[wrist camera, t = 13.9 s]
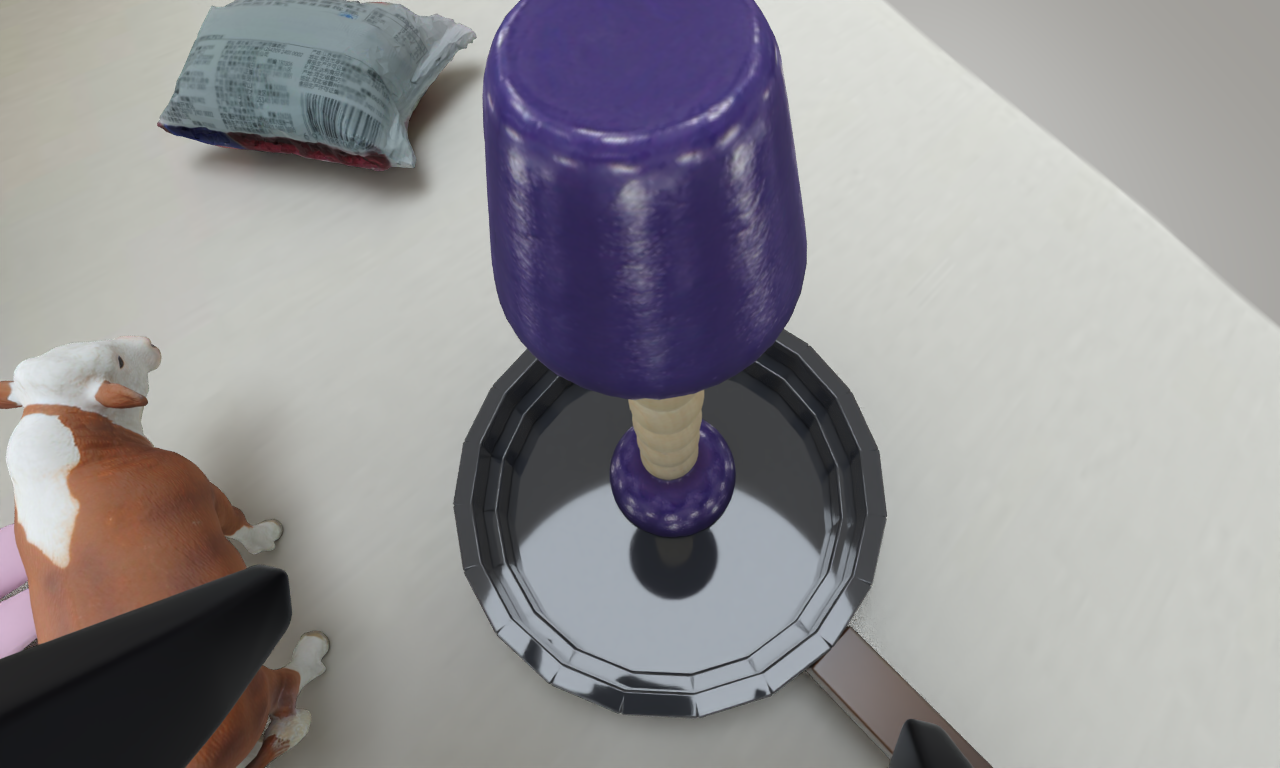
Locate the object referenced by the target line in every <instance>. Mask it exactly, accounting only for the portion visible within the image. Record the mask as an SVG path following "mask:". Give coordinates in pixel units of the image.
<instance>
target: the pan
mask: <svg viewBox="0 0 1280 768" xmlns="http://www.w3.org/2000/svg"><path fill="white" fill-rule="evenodd" d="M701 410H702V419H703V420H705V421H706V422H708V423H709V424H711V425H712V426H713V427H714V428H716V429H717V430H718V431H719V433H720V434H721V435H722V436H723V438H724V439H725V441H726V442H727V444H728V446H729V448H730V450H731V453H732V455H733V459H734V463H735V470H736V481H735V487H734V492H733V495H732V499H731V500H730V502H729V504H728V505H727V507H726V509H725V511H724V512H723V513H722V515H721V516H720V517H719V518H718V519H717V520H716V521H715V522H713V524H712V525H710V526H708V527H707V528H706V529H704V530H701V531H699V532H698V533H695V534H692V535H688V536H679V537H662V536H658V535H654V534H651V533H649V532H646V531H644V530H642V529H641V528H640V527H638V526H637V525H635V524H634V523H632V522H631V521H630V520H629V519H628V518H627V517H626V516H625V515H624V514H623V513H622V511H621V510H620V508H619V507H618V505H617V503H616V501H615V499H614V496H613V493H612V489H611V485H610V464H611V458H612V456H613V453H614V450H615V448H616V446H617V444H618V442H619V441H620V439H621V438H622V437H623V435H624V434H625V433H626V432H627V431H628V429H629V428H631V427H632V426H633V422H632V412H631V410H630V407H629V401H628V399H624V398H619V397H613V396H607V395H604V394H601V393H598V392H595V391H592V390H588V389H584V388H582V387H580V386H579V385H577V384H575V383H573V382H571V381H569V380H566V379H565V378H563V377H561V376H558V375H556V374H555V373H554V372H553V371H551V370H550V369H549V368H547V367H546V366H545V365H544V364H543V363H541V362H540V361H539V360H538V359H537V358H536V357H535V356H534V355H533V354H532V353H531V352H530V351H529V350H528V349H527V350H526V351H525V352H524V353H523V354H522V355H521V356H520V357H519V358H518V359H517V360H516V361H515V362H514V363H513V364H512V365H511V366H510V368H509V369H508V370H507V371H506V372H505V373H504V374H503V375H502V376H501V377H500V378H499V379H498V380H497V381H496V382H495V383H494V385H493V387H492V388H491V389H490V391H489V393H488V395H487V397H486V399H485V401H484V403H483V405H482V407H481V409H480V411H479V413H478V415H477V417H476V419H475V421H474V423H473V425H472V427H471V429H470V431H469V433H468V435H467V436H466V438H465V442H464V443H463V448H462V454H461V460H460V466H459V472H458V478H457V484H456V490H455V496H454V502H453V504H454V505H455V506H454V514H455V520H456V527H457V533H458V540H459V546H460V553H461V559H462V566H463V570H464V571H465V572H464V574H465V576H466V578H467V580H468V582H469V584H470V586H471V587H472V589H473V591H474V593H475V595H476V597H477V599H478V601H479V603H480V605H481V607H482V609H483V610H484V612H485V614H486V616H487V618H488V620H489V622H490V624H491V626H492V628H493V630H494V632H495V633H497V636H498V637H499V638H500V639H501V640H502V641H504V642H505V643H506V644H507V645H508V646H509V647H510V648H511V649H512V650H513V651H514V652H515V653H516V654H517V655H519V656H520V657H521V658H522V659H523V660H524V661H525V662H526V663H527V664H528V665H529V666H530V667H531V668H533V669H534V670H535V671H536V672H537V673H538V674H539V675H540V676H541V677H542V678H543V679H544V680H545V681H546V682H548V683H549V684H551V685H552V686H554V687H557V688H559V689H561V690H564V691H566V692H568V693H571V694H573V695H575V696H578V697H580V698H582V699H585V700H587V701H589V702H592V703H594V704H597V705H599V706H601V707H604V708H606V709H608V710H611V711H613V712H615V713H618V714H620V713H621V714H623V715H635V716H655V717H674V718H694V719H696V718H702V717H706V716H709V715H712V714H715V713H718V712H722V711H725V710H728V709H731V708H734V707H737V706H741V705H744V704H747V703H750V702H753V701H757V700H760V699H763V698H766V697H769V696H771V695H772V694H775V693H776V692H778V691H779V690H780V689H782V688H783V687H784V686H785V685H787V684H788V683H789V682H791V681H792V680H793V679H794V678H796V677H797V676H798V675H800V674H801V673H802V672H804V671H805V670H806V669H807V668H809V667H810V666H811V665H813V664H814V663H815V662H816V661H818V660H819V659H820V658H822V657H823V656H824V655H825V654H827V653H828V652H829V651H831V649H832V648H833V647H834V646H835V645H836V643H837V641H838V640H839V638H840V637H841V635H842V633H843V632H844V630H845V629H846V627H847V625H848V624H849V622H850V621H851V619H852V617H853V616H854V614H855V613H856V611H857V609H858V608H859V606H860V605H861V603H862V602H863V600H864V598H865V597H866V595H867V594H868V592H869V590H870V589H871V585H872V584H873V579H874V575H875V570H876V566H877V561H878V556H879V552H880V547H881V543H882V538H883V533H884V529H885V524H886V520H887V519H886V517H887V511H886V503H885V494H884V486H883V478H882V469H881V461H880V453H879V450H878V447H877V445H876V443H875V441H874V439H873V436H872V434H871V432H870V430H869V428H868V426H867V423H866V421H865V419H864V417H863V415H862V413H861V411H860V408H859V406H858V404H857V402H856V400H855V398H854V396H853V393H852V392H850V389H849V388H848V387H847V386H846V385H845V383H844V382H843V381H842V380H841V379H840V378H839V377H838V376H837V375H836V374H835V372H834V371H833V370H832V369H831V368H830V367H829V366H828V365H827V364H826V363H825V361H824V360H823V359H822V358H821V357H820V356H819V355H818V354H817V353H816V351H815V350H814V349H813V348H812V347H811V346H808V344H807V343H806V342H804V341H803V340H801V339H799V338H798V337H796V336H794V335H793V334H791V333H789V332H788V331H786V330H784V329H783V330H782V332H781V333H780V335H779V336H778V338H777V339H776V341H775V342H774V344H773V345H772V346H771V347H769V348H768V349H767V350H766V351H765V352H764V353H763V354H762V355H761V356H760V357H759V358H758V359H757V360H756V361H755V362H754V363H752V364H751V365H750V366H748V367H747V368H745V369H744V370H743V371H741V372H740V373H738V374H737V375H735V376H733V377H731V378H729V379H727V380H725V381H724V382H722V383H720V384H718V385H716V386H712V387H709V388H707V389H704V401H703V405H702V408H701ZM831 647H832V648H831Z"/></svg>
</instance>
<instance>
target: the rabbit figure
mask: <svg viewBox="0 0 1280 768" xmlns="http://www.w3.org/2000/svg"><path fill="white" fill-rule="evenodd" d="M27 581H28V578H27V575H26V572H25V568H24V566H23V563H22V560H21V557H20V554H19V551H18V548H17V545H16V540H15V534H14V524H11V525H8V526H5V527H3V528H1V529H0V599H1V598H3V597H4V596H6V595H7V594H9V593H10V592H12V591H13V590H15V589H17V588H18V587H20V586H21V585H23V584H24V583H25V582H27ZM36 638H37V635H36V629H35V624H34V619H33V614H32V609H31V603H30V595H29V588H28V589H26V590H24V591H22V592H20V593H19V594H17V595H15V596H13V597H11V598H9V599H7V600H5V601H2V602H0V659H1V658H4V657H7V656H9V655H12V654H15V653H18V652H20V651H22V650H23V649H24V648H25V647H26V646H28V645H29V644H30V643H31V642H32V641H34V640H35V639H36Z"/></svg>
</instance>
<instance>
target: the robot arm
mask: <svg viewBox="0 0 1280 768" xmlns="http://www.w3.org/2000/svg"><path fill="white" fill-rule="evenodd" d="M291 616H292V607H291V598H290V589H289V580H288V575H287V574H286V572H285V571H284V570H282V569H279V568H275V567H270V566H266V565H255V566H252V567H249V568H246V569H244V570H241V571H238V572H235V573H233V574H230V575H227V576H224V577H222V578H219V579H216V580H214V581H211V582H208V583H205V584H203V585H200V586H197V587H195V588H192V589H189V590H186V591H184V592H181V593H178V594H175V595H173V596H170V597H167V598H165V599H162V600H159V601H156V602H154V603H151V604H148V605H146V606H143V607H140V608H137V609H135V610H132V611H129V612H126V613H124V614H121V615H118V616H116V617H113V618H110V619H107V620H105V621H102V622H99V623H97V624H94V625H91V626H88V627H86V628H83V629H80V630H77V631H75V632H72V633H69V634H67V635H64V636H61V637H58V638H56V639H53V640H50V641H48V642H45V643H42V644H39V645H37V646H34V647H31V648H28V649H26V650H23V651H20V652H18V653H15V654H12V655H9V656H7V657H4V658H1V659H0V768H186V766H187V765H188V764H189V763H190V762H191V760H192V759H193V758H194V757H195V756H196V754H197V753H198V752H199V751H200V749H201V748H202V747H203V746H204V745H205V743H206V742H207V741H208V740H209V738H210V737H211V736H212V735H213V733H214V732H215V731H216V730H217V728H218V727H219V726H220V725H221V723H222V722H223V720H224V719H225V718H226V716H227V715H228V714H229V712H230V711H231V710H232V708H233V707H234V705H235V704H236V702H237V701H238V700H239V698H240V697H241V695H242V694H243V692H244V691H245V689H246V688H247V687H248V685H249V684H250V682H251V681H252V679H253V678H254V676H255V675H256V674H257V672H258V671H259V669H260V668H261V666H262V665H263V663H264V662H265V660H266V659H267V658H268V656H269V655H270V653H271V652H272V650H273V649H274V647H275V646H276V645H277V643H278V642H279V640H280V639H281V637H282V636H283V634H284V633H285V632H286V630H287V628H288V626H289V624H290V621H291ZM889 768H974V767H973V766H972V765H971V763H970V762H969V761H968V760H967V758H966V757H965V756H964V755H963V753H962V752H961V751H960V749H959V748H958V747H957V746H956V744H955V743H954V742H953V741H952V739H951V738H950V737H949V735H948V734H947V733H946V732H945V731H944V729H942V728H941V727H940V726H938V725H936V724H932V723H928V722H924V721H920V720H915V719H908V720H906V722H905V723H904V724H903V726H902V729H901V732H900V735H899V738H898V741H897V744H896V746H895V749H894V752H893V755H892V758H891V761H890V765H889Z"/></svg>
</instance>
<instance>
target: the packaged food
mask: <svg viewBox="0 0 1280 768" xmlns="http://www.w3.org/2000/svg"><path fill="white" fill-rule="evenodd" d="M476 38H477V37H476V34H475V32H474V31H472V29H471V28H469V27H467V26H465V25H463V24H460V23H458V24H457V23H455V22H454V20H453V19H449V18H445V17H443V16H440V15H438V14H434V15H431V16H418V15H416V14H415V13H413V12H412V11H410V10H409V9H408V8H406V7H404V6H403V5H401V4H393V3H387V2H366V3H361V4H360V2H359V1H353V2H350V1H346V0H235V1H234V2H232V3H230V4H228V5H226V6H225V7H215V6H211V8H210V10H209V12H208V14H207V16H206V18H205V20H204V22H203V24H202V26H201V28H200V31H199V33H198V36H197V39H196V40H195V42H194V44H193V46H192V49H191V51H190V53H189V56H188V58H187V61H186V63H185V65H184V68H183V70H182V72H181V74H180V76H179V78H178V80H177V83H176V87H175V92H174V94H173V96H172V98H171V100H170V102H169V104H168V106H167V107H166V108H165V110H164V111H163V113H162V114H161V116H160V120H159V122H158V123H157V126H158V127H161V128H163V129H164V130H165V131H166V132H168V133H171V134H173V135H176V136H183V137H186V138H189V139H193V140H197V141H200V142H203V143H206V144H211V145H215V146H220V147H225V148H234V149H245V150H258V151H265V152H271V153H273V152H278V153H285V154H291V153H293V154H296V155H299V156H302V157H304V158H309V159H316V160H321V161H327V162H334V163H340V164H344V165H346V166H353V167H361V168H367V169H372V170H375V171H385V170H388V169H389V168H390V167H402V168H404V167H410V168H415V163H416V157H415V154H414V152H413V149H412V147H411V144H410V142H409V139H408V134H407V130H408V123H409V119H410V117H411V115H412V112H413V111H414V110H415V109H416V107H417V106H418V103H419V101H420V99H421V98H422V96H423V95H424V94H425V92H426V91H427V89H428V87H429V86H430V85H431V84H432V83H433V82H434V81H435V80H436V78H437V77H438V75H439V74H440V72H441V71H442V70H443V69H444V68H445V66H446V65H447V64H448V63H449V62H450V61H452V59H453V57H454V55H455V54H456V53H457V51H458V50H461V49H465V48H467V45H468V43H473V40H474V39H476Z"/></svg>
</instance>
